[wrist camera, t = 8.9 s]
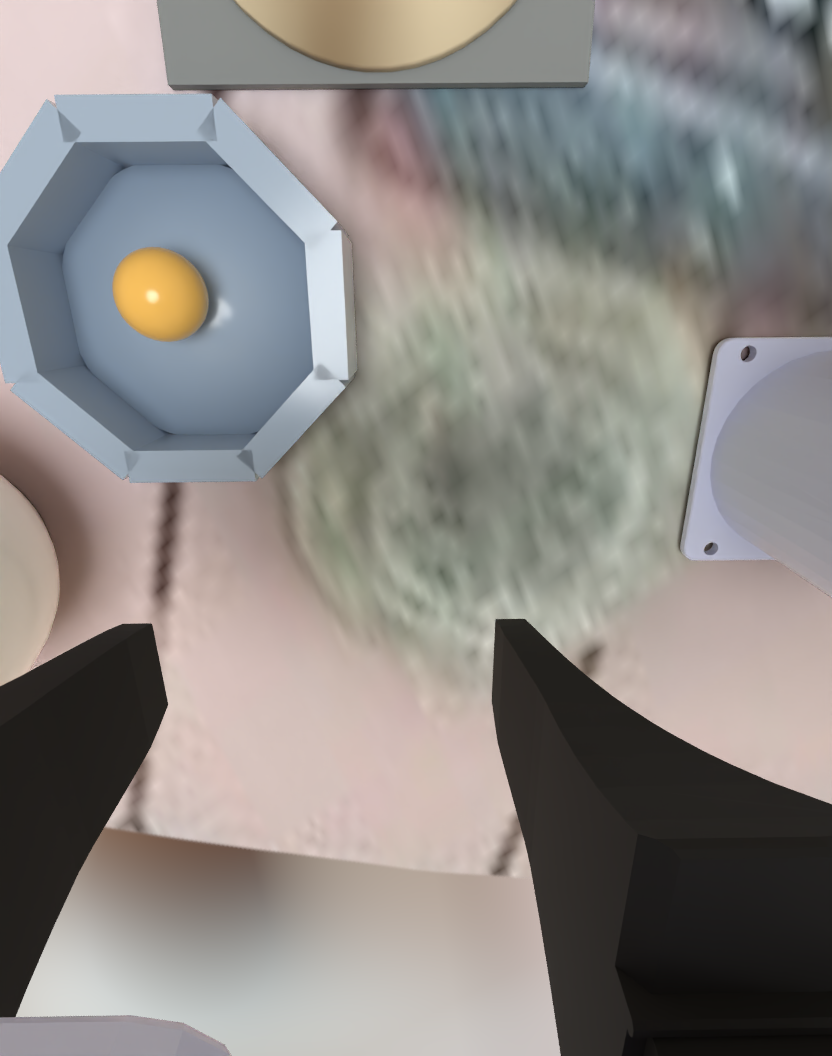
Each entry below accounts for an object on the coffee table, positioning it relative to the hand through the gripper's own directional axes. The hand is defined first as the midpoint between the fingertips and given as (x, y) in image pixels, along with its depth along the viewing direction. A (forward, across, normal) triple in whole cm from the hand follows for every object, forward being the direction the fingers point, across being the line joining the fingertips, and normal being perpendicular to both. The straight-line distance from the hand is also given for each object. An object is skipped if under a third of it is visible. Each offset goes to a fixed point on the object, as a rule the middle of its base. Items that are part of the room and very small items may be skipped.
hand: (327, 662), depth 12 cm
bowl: (+10, +5, -7) cm, 13 cm away
